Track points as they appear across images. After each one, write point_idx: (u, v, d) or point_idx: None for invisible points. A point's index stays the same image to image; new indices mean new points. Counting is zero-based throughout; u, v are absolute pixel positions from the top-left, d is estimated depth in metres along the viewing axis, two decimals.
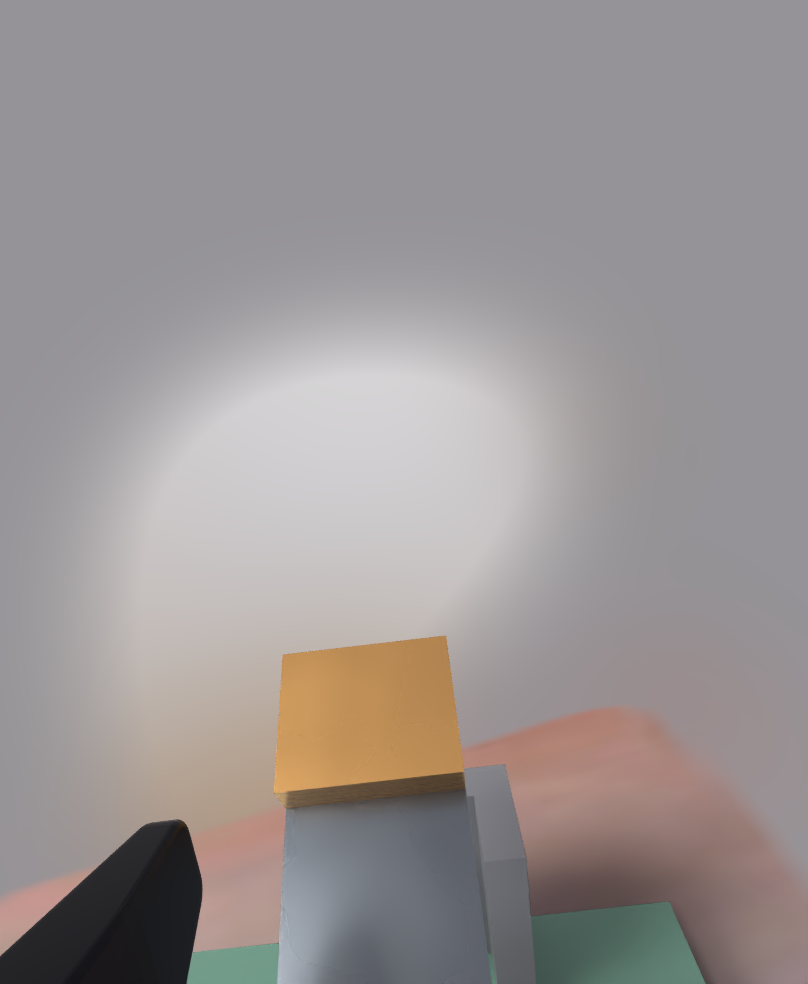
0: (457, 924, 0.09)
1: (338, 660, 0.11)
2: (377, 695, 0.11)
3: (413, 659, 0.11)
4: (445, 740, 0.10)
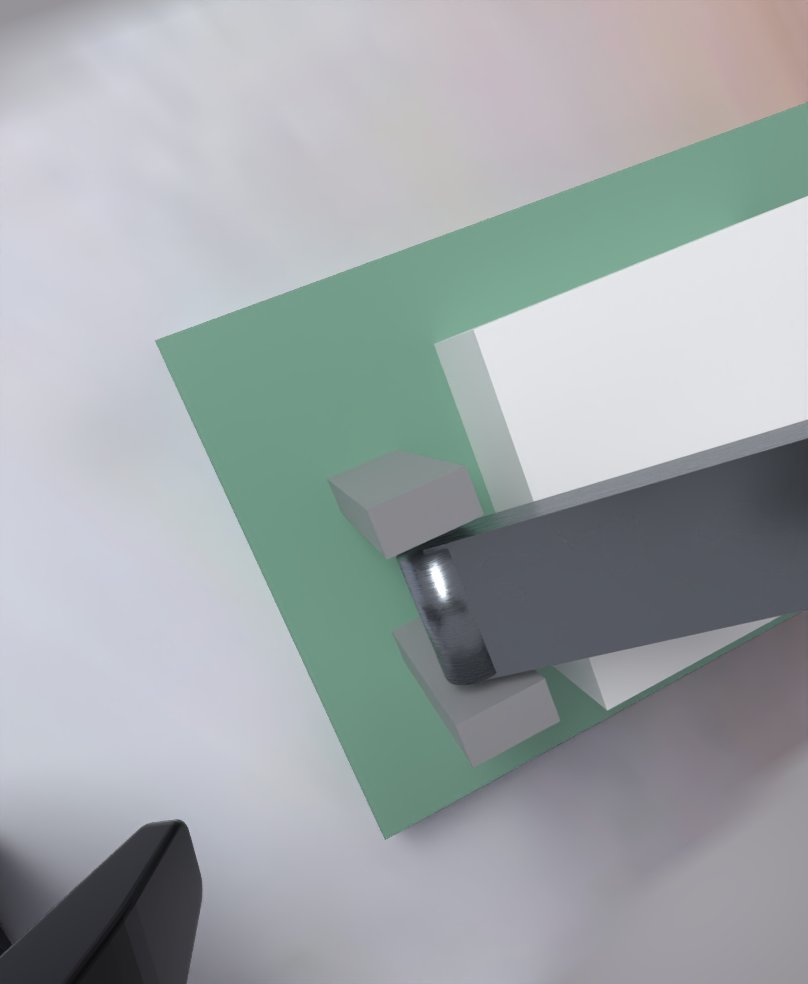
0: None
1: None
2: None
3: None
4: None
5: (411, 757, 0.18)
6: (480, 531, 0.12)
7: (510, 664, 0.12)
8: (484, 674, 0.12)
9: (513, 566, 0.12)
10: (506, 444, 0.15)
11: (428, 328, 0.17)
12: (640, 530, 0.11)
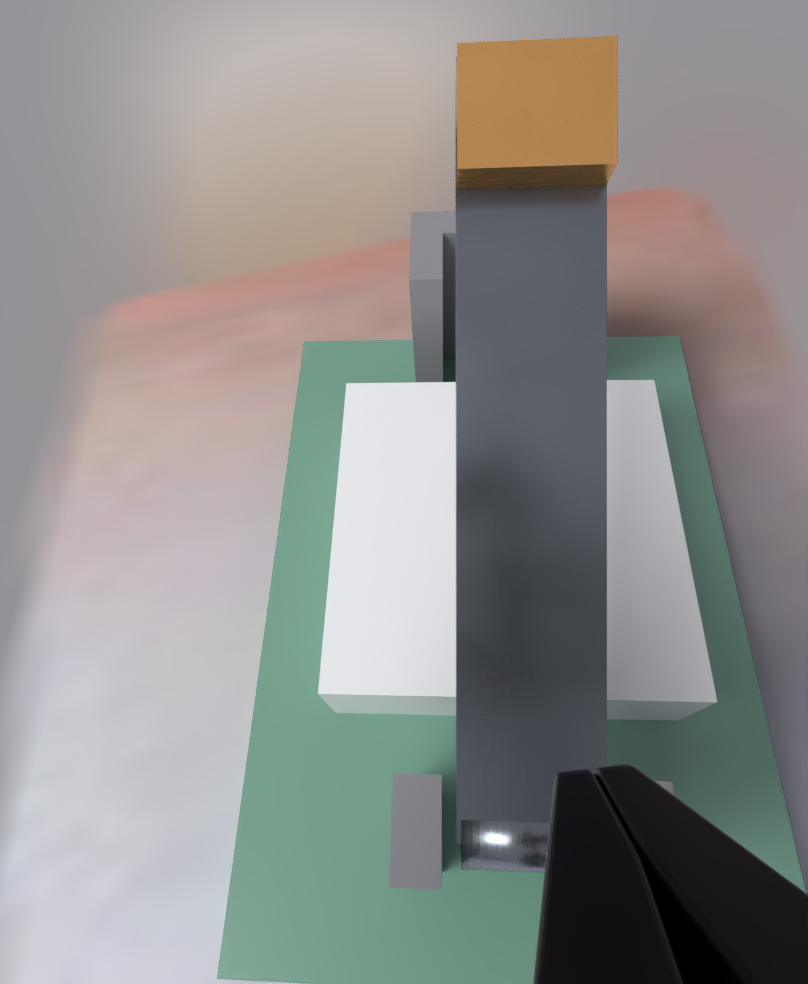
0: (587, 276, 0.13)
1: (511, 53, 0.12)
2: (547, 91, 0.12)
3: (583, 58, 0.12)
4: (604, 136, 0.12)
5: None
6: (456, 783, 0.13)
7: None
8: None
9: (496, 768, 0.13)
10: (425, 699, 0.16)
11: (321, 711, 0.19)
12: (494, 652, 0.13)
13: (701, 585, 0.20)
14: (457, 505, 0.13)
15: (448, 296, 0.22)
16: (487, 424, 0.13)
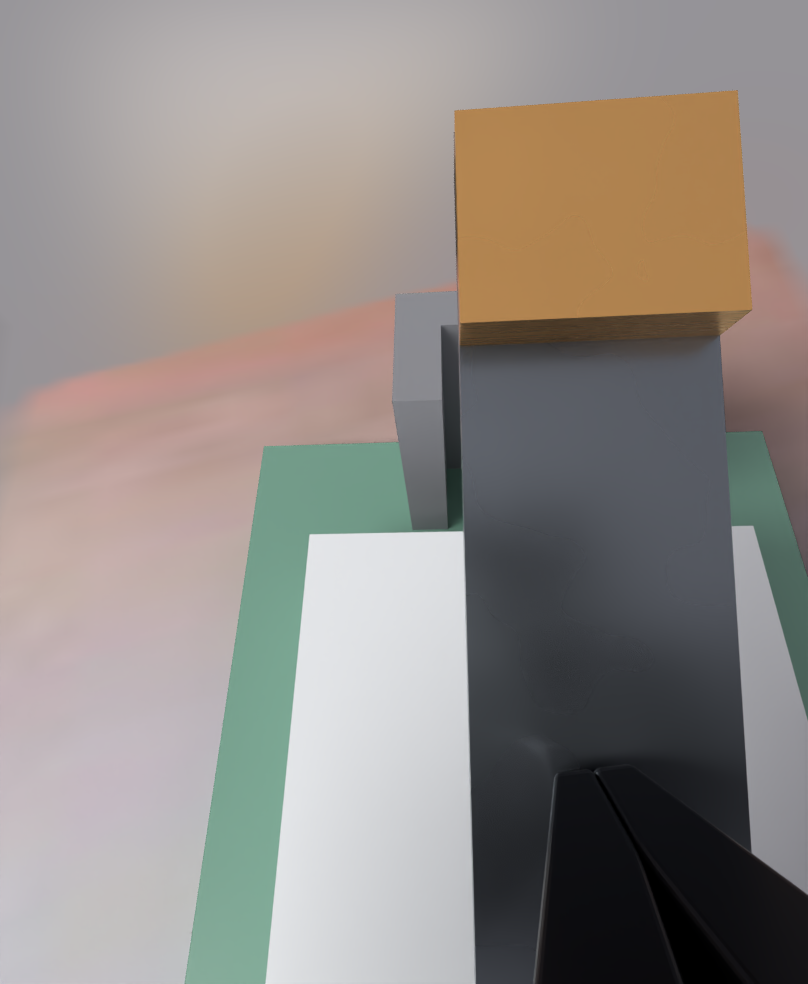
0: (694, 494, 0.07)
1: (550, 125, 0.07)
2: (617, 186, 0.07)
3: (678, 130, 0.07)
4: (724, 263, 0.07)
5: None
6: None
7: None
8: None
9: None
10: None
11: None
12: None
13: None
14: (476, 913, 0.07)
15: (451, 400, 0.16)
16: (526, 760, 0.07)
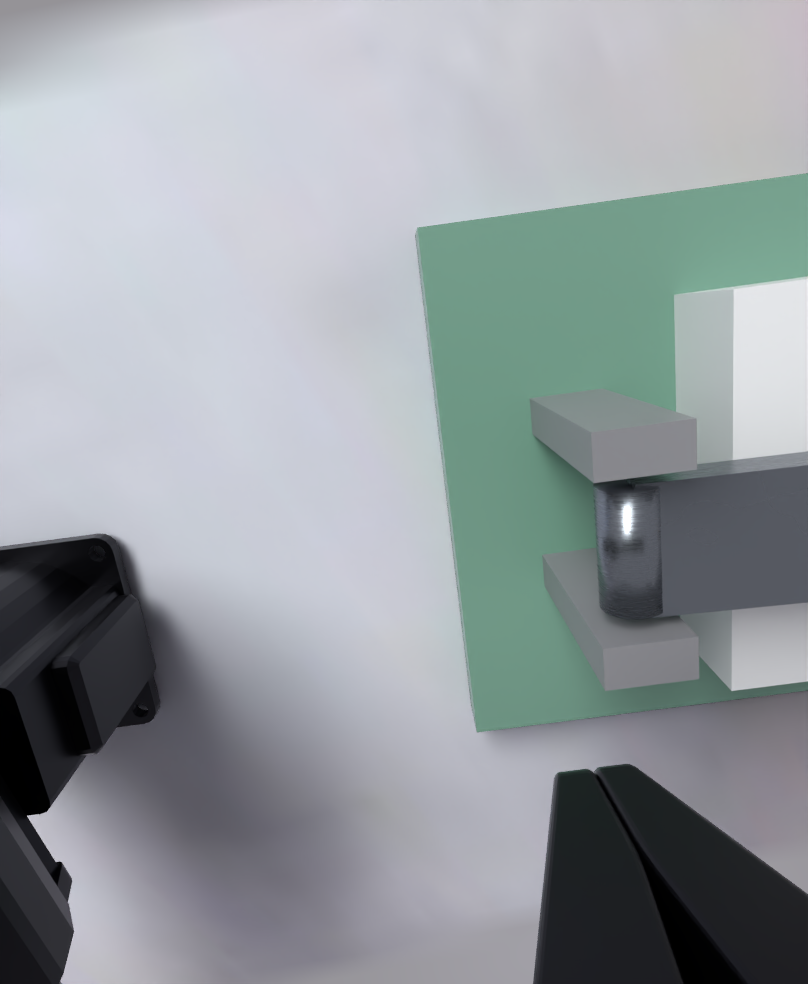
0: None
1: None
2: None
3: None
4: None
5: (522, 671, 0.19)
6: (691, 476, 0.13)
7: (678, 605, 0.13)
8: (655, 611, 0.13)
9: (713, 514, 0.13)
10: (722, 411, 0.15)
11: (674, 277, 0.16)
12: None
13: None
14: None
15: None
16: None
